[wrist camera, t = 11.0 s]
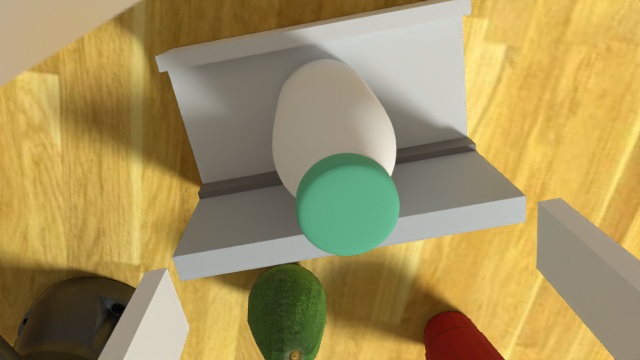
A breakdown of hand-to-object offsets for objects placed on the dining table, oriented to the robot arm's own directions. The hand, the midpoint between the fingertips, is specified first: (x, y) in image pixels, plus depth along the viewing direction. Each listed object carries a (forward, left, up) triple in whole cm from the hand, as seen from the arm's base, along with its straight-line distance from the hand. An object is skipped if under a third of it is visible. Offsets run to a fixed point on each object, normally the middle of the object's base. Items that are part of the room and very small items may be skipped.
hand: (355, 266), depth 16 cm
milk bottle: (0, 0, -24) cm, 24 cm away
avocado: (-7, -19, -27) cm, 33 cm away
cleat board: (0, -1, -27) cm, 27 cm away
